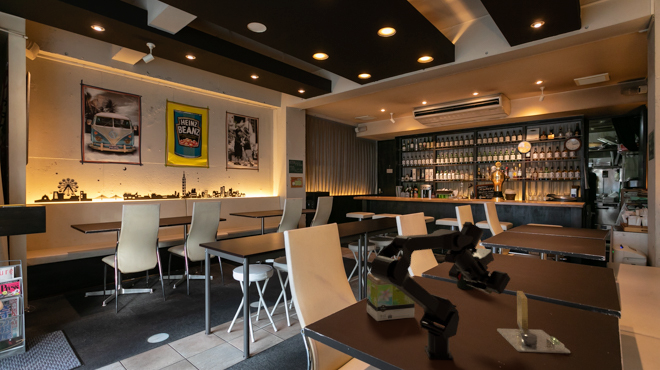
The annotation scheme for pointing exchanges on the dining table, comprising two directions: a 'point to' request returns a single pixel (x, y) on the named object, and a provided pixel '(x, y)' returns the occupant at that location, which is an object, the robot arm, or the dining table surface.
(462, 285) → the wine bottle
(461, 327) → the dining table surface
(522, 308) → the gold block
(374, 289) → the tea box
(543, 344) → the plate
